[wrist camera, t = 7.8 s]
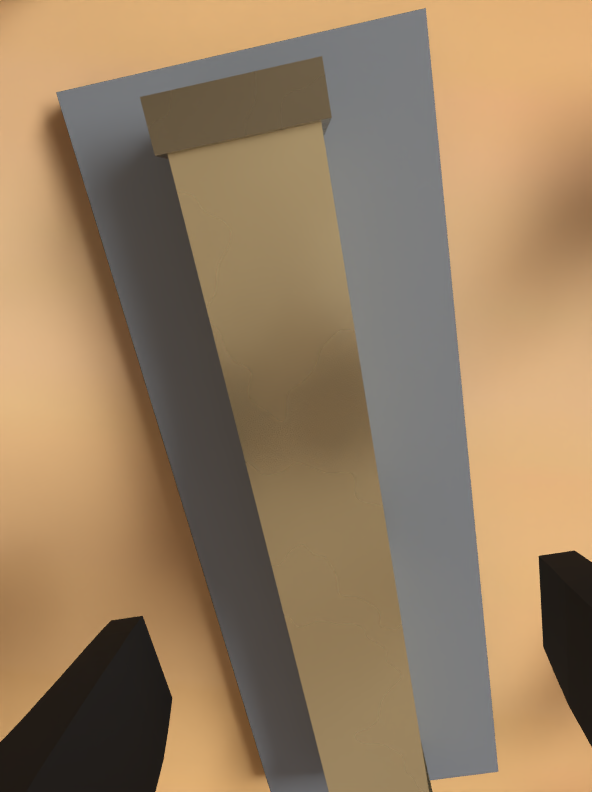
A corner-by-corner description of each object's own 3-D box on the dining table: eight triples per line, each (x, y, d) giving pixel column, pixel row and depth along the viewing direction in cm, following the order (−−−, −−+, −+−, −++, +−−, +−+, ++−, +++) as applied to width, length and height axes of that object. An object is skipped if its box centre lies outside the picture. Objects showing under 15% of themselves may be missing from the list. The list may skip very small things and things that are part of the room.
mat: (489, 746, 17) (498, 771, 17) (274, 774, 18) (273, 800, 17) (416, 21, 11) (426, 8, 10) (72, 99, 11) (56, 92, 10)
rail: (424, 760, 16) (447, 863, 14) (335, 771, 17) (342, 875, 14) (316, 90, 10) (322, 56, 8) (178, 120, 10) (140, 96, 8)
